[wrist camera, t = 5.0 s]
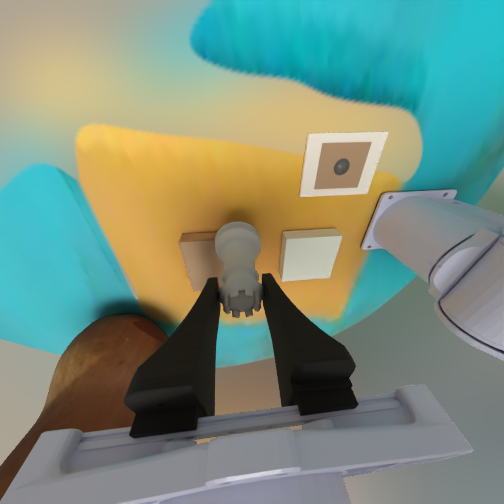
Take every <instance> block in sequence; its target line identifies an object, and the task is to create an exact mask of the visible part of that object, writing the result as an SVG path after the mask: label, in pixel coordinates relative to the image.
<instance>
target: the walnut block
mask: <svg viewBox="0 0 504 504" xmlns="http://www.w3.org/2000/svg"><path fill="white" fill-rule="evenodd" d="M216 234H217V232H205V233H188V234H182V236H181V238H180V241H179V245H180V249H181V252H182V255H183V259H184V262H185V266H186V269H187V272H188V276H189V279H190V283H191V286H192V289H193V291H202V290H203V288H204V286H205V284H206V282H207V279H208V278H211V277H218V283H219V289H220V287H221V286H222V285H223V283H222V275H223V273H224V272H225V269H224V263H223V262H222V261H221V259H220V258H219V257H218V255H217V253H216V249H215V237H216Z"/></svg>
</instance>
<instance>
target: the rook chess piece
mask: <svg viewBox="0 0 504 504" xmlns="http://www.w3.org/2000/svg"><path fill="white" fill-rule="evenodd" d="M215 249H216V253H217V255H218V257H219V258H220V259H221V261H222V262H223V263H224V269H225V272H224V273H223V275H222V283H223V285H222V286H221V287H220V289H219V291H218V293H217V294H218V300H219V301H220V302H221V303H222V304H223V311H224V312H225V313H226V314H228V313H230V310H231V311H232V317H236V318H239V317H240V312H245V315H246V317H249V316H252V315H253V312H252V309H254V310H255V311H257V312H258V311H259V310H260V308H261V300H262V299H263V297H264V288H263V286H262V284H260V283H259V282H258V280H259V275H258V273H257V271H256V270H255V260H256V258H257V256H258V254H259V253H260V249H261V241H260V235H259V233H258V231H257V229H255V228H254V227H253V226H252V225H251V224H248V223H245V222H242V221H240V222H230V223H228V224H226V225H223V226H222V227H221V228H220V229H219V230H218V231H217V234H216V237H215Z"/></svg>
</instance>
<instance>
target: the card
mask: <svg viewBox="0 0 504 504" xmlns="http://www.w3.org/2000/svg"><path fill="white" fill-rule="evenodd" d="M388 133H389V132H346V133H308V134H307V139H306V146H305V154H304V161H303V168H302V176H301V183H300V191H299V197H311V196H332V195H353V194H367V193H368V190H369V187H370V184H371V181H372V178H373V176H374V173H375V170H376V167H377V164H378V161H379V158H380V156H381V153H382V150H383V147H384V144H385V141H386V139H387V136H388Z"/></svg>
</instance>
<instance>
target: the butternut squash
mask: <svg viewBox="0 0 504 504" xmlns="http://www.w3.org/2000/svg"><path fill="white" fill-rule="evenodd" d="M167 339H168V336H167V334H166V333H165V332H164V331H163V330H162V329H160V328H159V327H158V326H156V325H155V324H154V323H152V322H151V321H150V320H149V319H148V318H146V317H143V316H140V315H137V314H121V315H111V316H106V317H103V318H101V319H98V320H96V321H95V322H93V323H91V324H90V325H89V326H88V327H86V328H85V329H84V330H83V331H82V332H81V333H80V334H78V335H77V336H76V337H75V338H74V340H73V341H72V342H71V343H70V345H69V346H68V347H67V349H66V350H65V352H64V353H63V354H62V356H61V358H60V360H59V362H58V364H57V366H56V369H55V371H54V375H53V378H52V381H51V384H50V388H49V392H48V395H47V399H46V403H45V406H44V409H43V411H42V413H41V415H40V416H39V418H38V420H37V422H36V423H35V424H34V425H33V427H32V428H31V429H30V431H29V432H28V433H27V434H26V435H25V437H24V438H23V439H22V440H21V441H20V443H19V444H18V445H17V446H16V448H15V449H14V450H13V451H12V452H11V454H10V455H9V456H8V457H7V459H6V460H5V461H4V462H3V464H2V465H1V466H0V501H1V499H2V498H3V496H4V494H5V493H6V491H7V490H8V488H9V486H10V485H11V483H12V481H13V480H14V478H15V476H16V475H17V473H18V472H19V470H20V468H21V467H22V465H23V463H24V462H25V460H26V459H27V457H28V455H29V454H30V452H31V450H32V449H33V447H34V446H35V444H36V442H37V441H38V439H39V437H40V436H41V434H42V433H44V432H46V431H54V430H62V429H78V430H80V431H82V432H83V433H87V432H94V431H102V430H110V429H117V428H125V427H132V424H133V421H134V418H135V415H136V414H135V413H134V412H133V411H132V410H130V409H129V408H128V407H127V406H126V405H125V404H124V397H125V395H126V392H127V390H128V387H129V385H130V382H131V380H132V378H133V376H134V374H135V372H136V370H137V368H138V367H139V366H140V365H141V364H142V363H143V362H145V361H146V360H147V359H148V358H149V357H150V356H151V355H152V354H153V353H154V352H155V351H156V350H157V349H158V348H159V347H160V346H161V345H162V344H163V343H164V342H165V341H166V340H167Z"/></svg>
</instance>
